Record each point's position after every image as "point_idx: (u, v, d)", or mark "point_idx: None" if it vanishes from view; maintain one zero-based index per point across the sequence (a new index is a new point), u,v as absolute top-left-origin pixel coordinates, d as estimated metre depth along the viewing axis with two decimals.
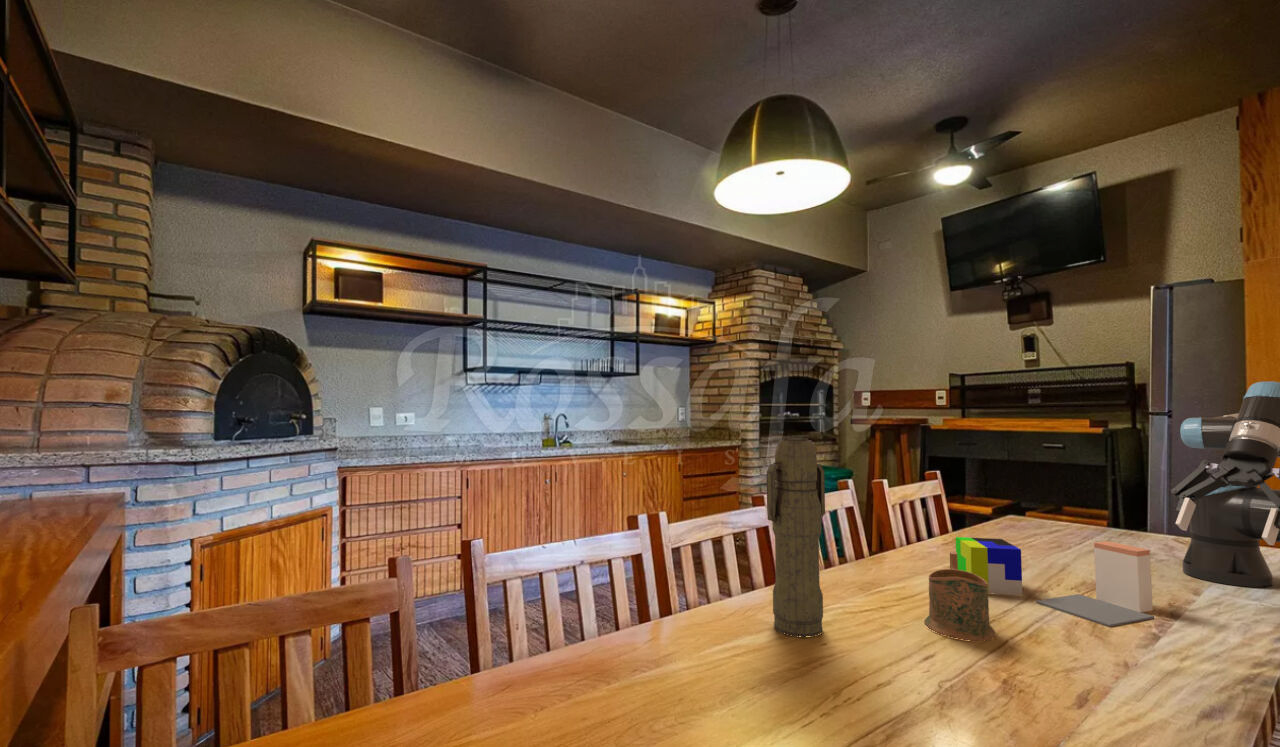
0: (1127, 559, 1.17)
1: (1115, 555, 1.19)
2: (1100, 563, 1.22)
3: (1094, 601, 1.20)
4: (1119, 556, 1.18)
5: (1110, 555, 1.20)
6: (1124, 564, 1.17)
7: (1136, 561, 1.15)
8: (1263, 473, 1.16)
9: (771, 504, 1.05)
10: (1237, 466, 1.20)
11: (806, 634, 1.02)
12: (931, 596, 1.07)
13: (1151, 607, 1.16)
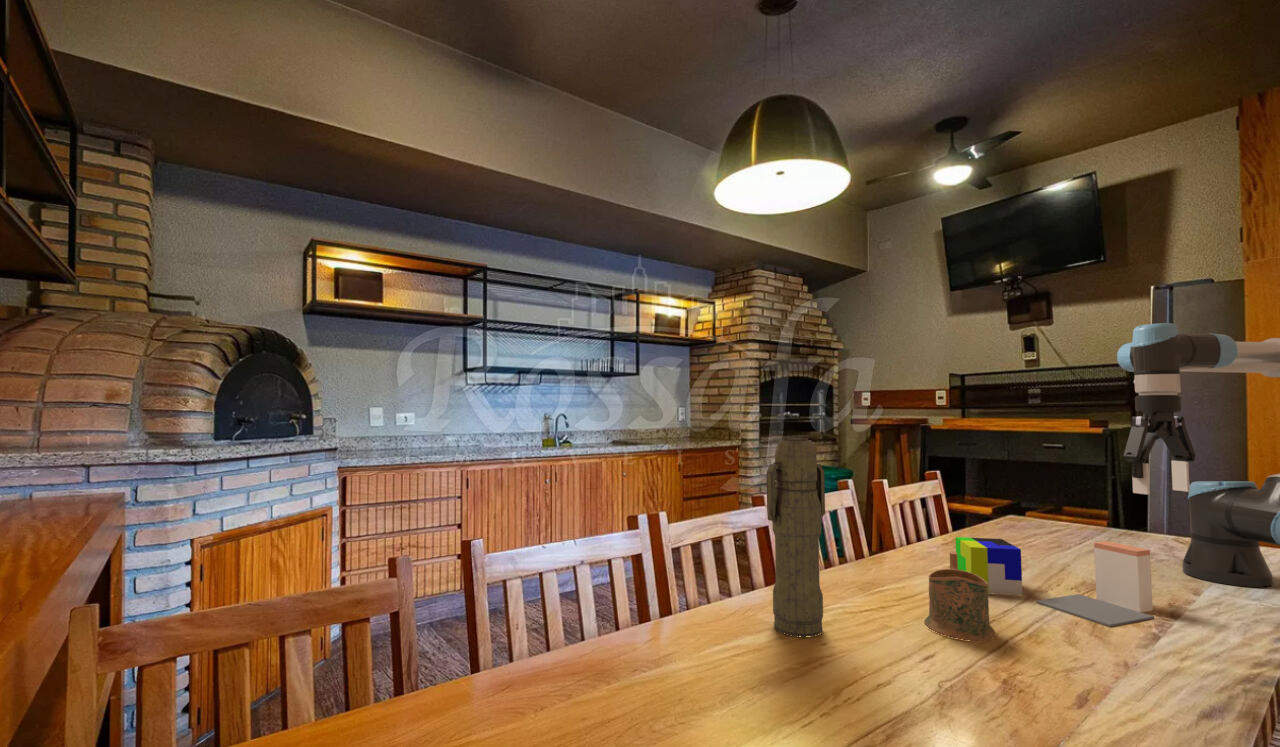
0: (1127, 559, 1.17)
1: (1115, 555, 1.19)
2: (1100, 563, 1.22)
3: (1094, 601, 1.20)
4: (1119, 556, 1.18)
5: (1110, 555, 1.20)
6: (1124, 564, 1.17)
7: (1136, 561, 1.15)
8: None
9: (771, 504, 1.05)
10: None
11: (806, 634, 1.02)
12: (931, 596, 1.07)
13: (1151, 607, 1.16)
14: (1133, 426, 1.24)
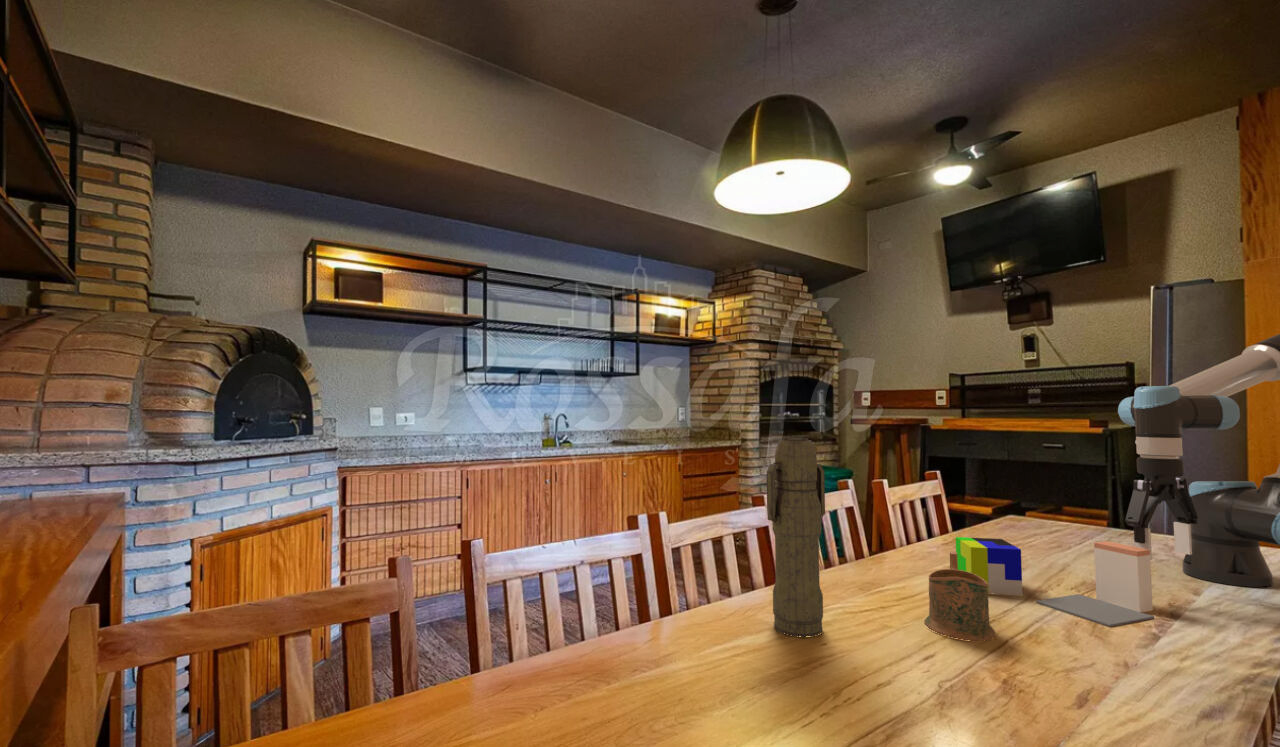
0: (1127, 559, 1.17)
1: (1115, 555, 1.19)
2: (1100, 563, 1.22)
3: (1094, 601, 1.20)
4: (1119, 556, 1.18)
5: (1110, 555, 1.20)
6: (1124, 564, 1.17)
7: (1136, 561, 1.15)
8: None
9: (771, 504, 1.05)
10: None
11: (806, 634, 1.02)
12: (931, 596, 1.07)
13: (1151, 607, 1.16)
14: (1135, 490, 1.24)
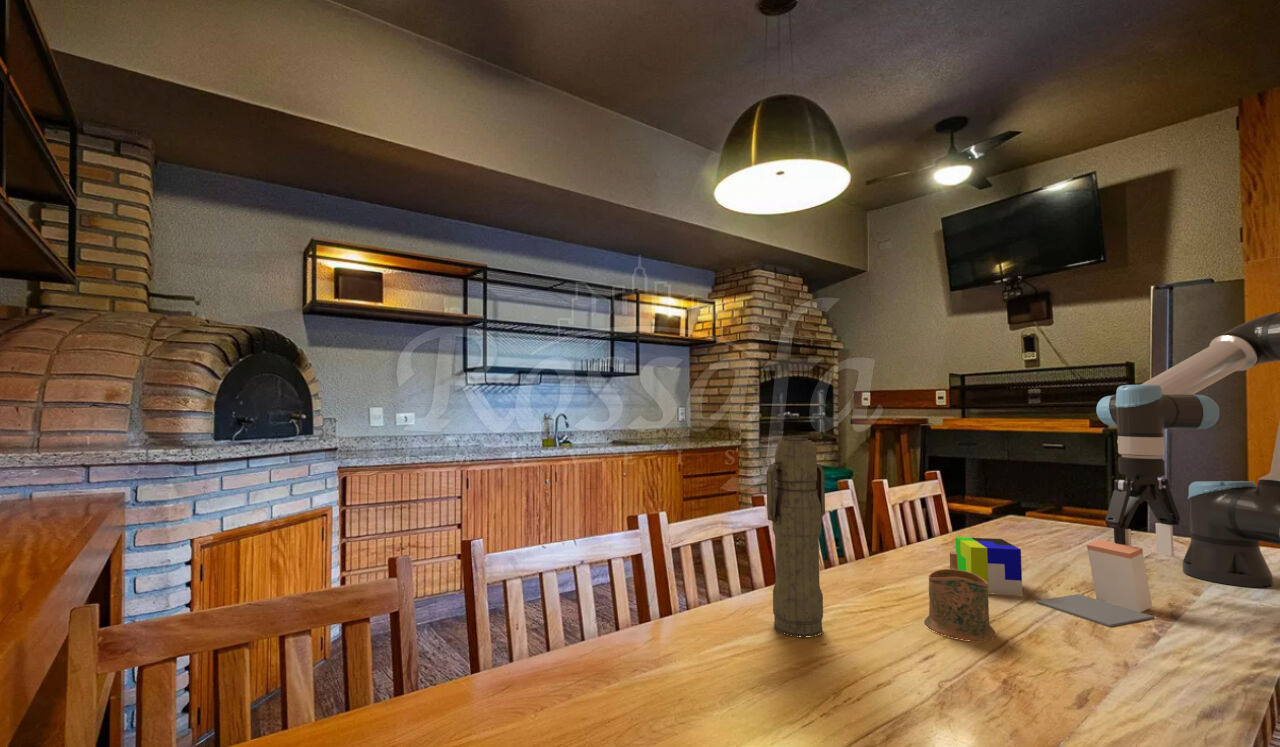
0: (1121, 560, 1.16)
1: (1109, 557, 1.18)
2: (1095, 564, 1.21)
3: (1094, 601, 1.20)
4: (1113, 558, 1.18)
5: (1104, 557, 1.19)
6: (1119, 566, 1.17)
7: (1130, 562, 1.15)
8: None
9: (771, 504, 1.05)
10: None
11: (806, 634, 1.02)
12: (931, 596, 1.07)
13: (1150, 604, 1.16)
14: (1115, 490, 1.22)
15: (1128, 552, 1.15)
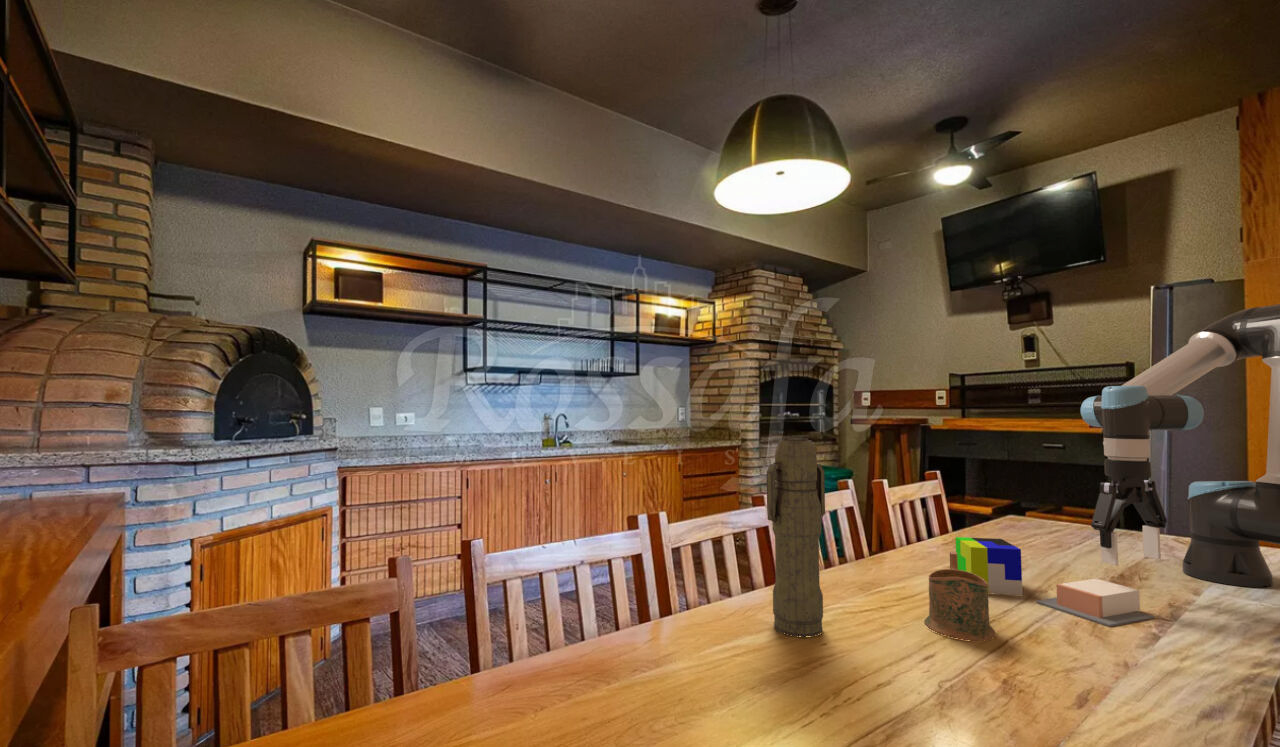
0: None
1: None
2: None
3: None
4: None
5: None
6: None
7: (1105, 616, 1.12)
8: None
9: (771, 504, 1.05)
10: None
11: (806, 634, 1.02)
12: (931, 596, 1.07)
13: (1137, 592, 1.15)
14: (1101, 493, 1.20)
15: (1096, 613, 1.11)
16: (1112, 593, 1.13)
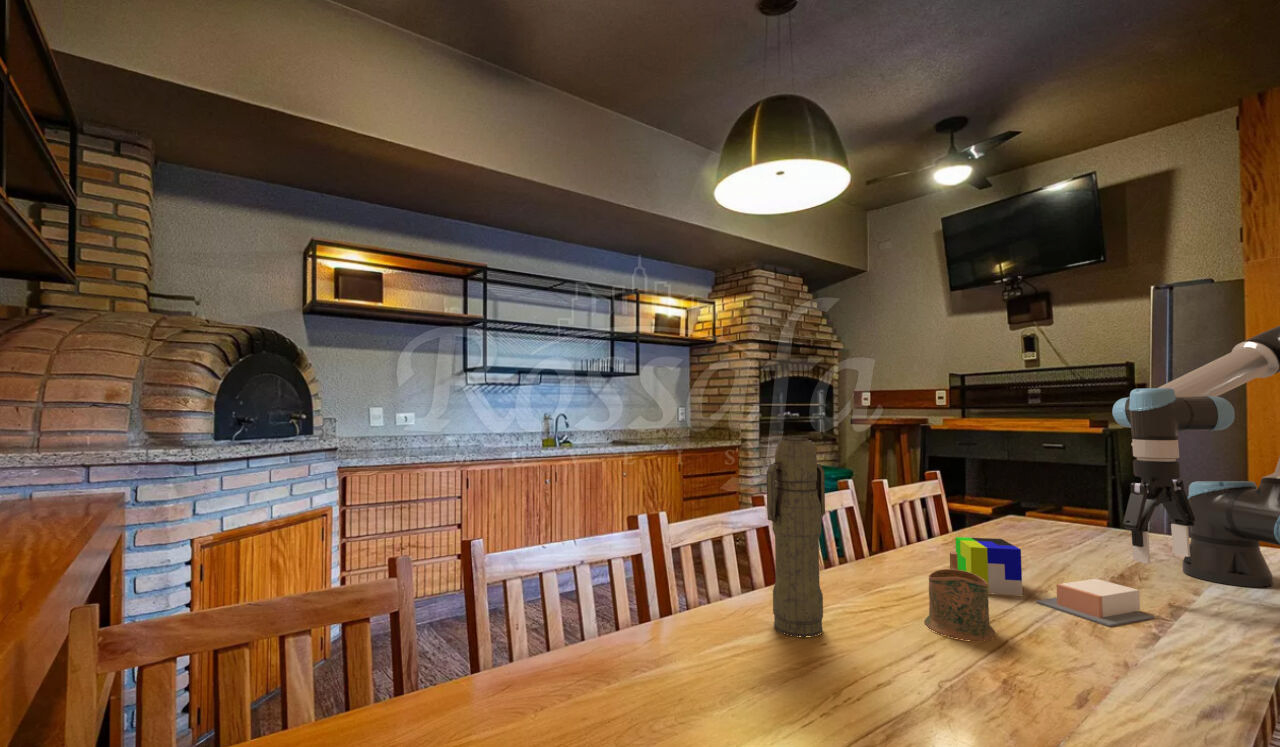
0: None
1: None
2: None
3: None
4: None
5: None
6: None
7: (1105, 616, 1.12)
8: None
9: (771, 504, 1.05)
10: None
11: (806, 634, 1.02)
12: (931, 596, 1.07)
13: (1137, 592, 1.15)
14: (1132, 493, 1.23)
15: (1096, 613, 1.11)
16: (1112, 593, 1.13)
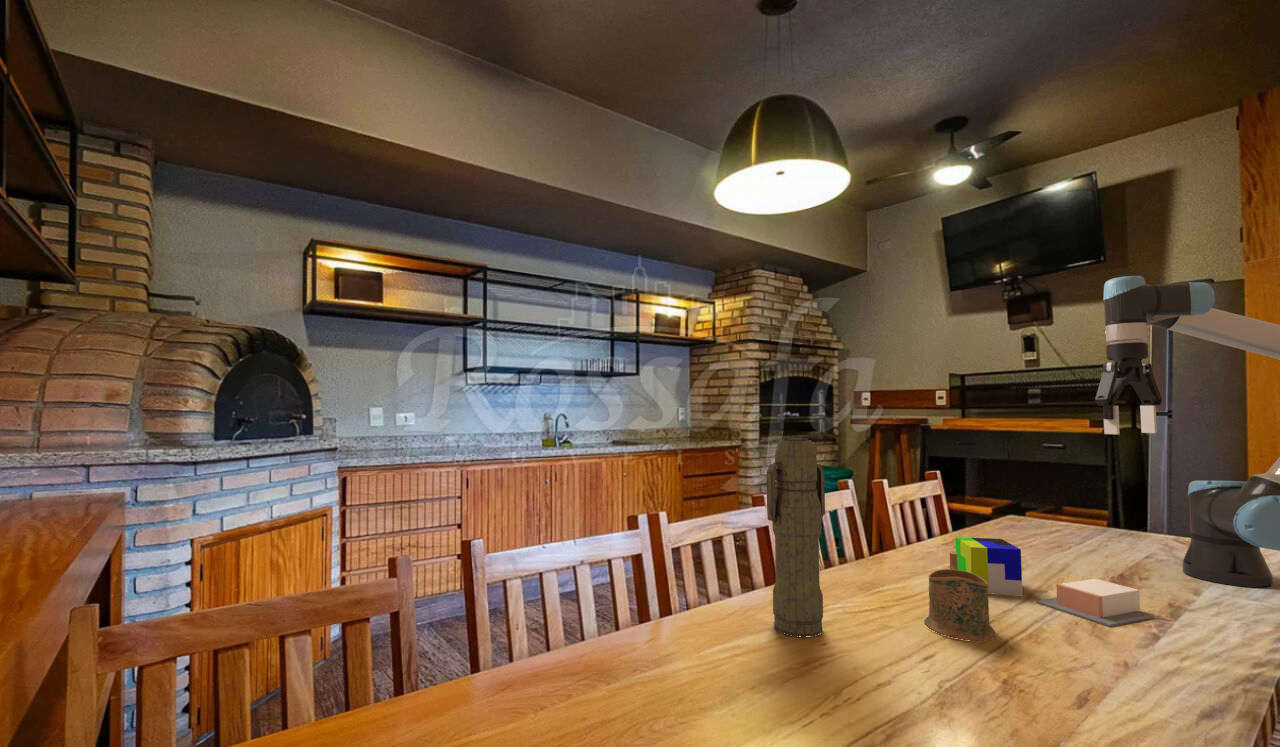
0: None
1: None
2: None
3: None
4: None
5: None
6: None
7: (1105, 616, 1.12)
8: None
9: (771, 504, 1.05)
10: None
11: (806, 634, 1.02)
12: (931, 596, 1.07)
13: (1137, 592, 1.15)
14: (1104, 372, 1.33)
15: (1096, 613, 1.11)
16: (1112, 593, 1.13)
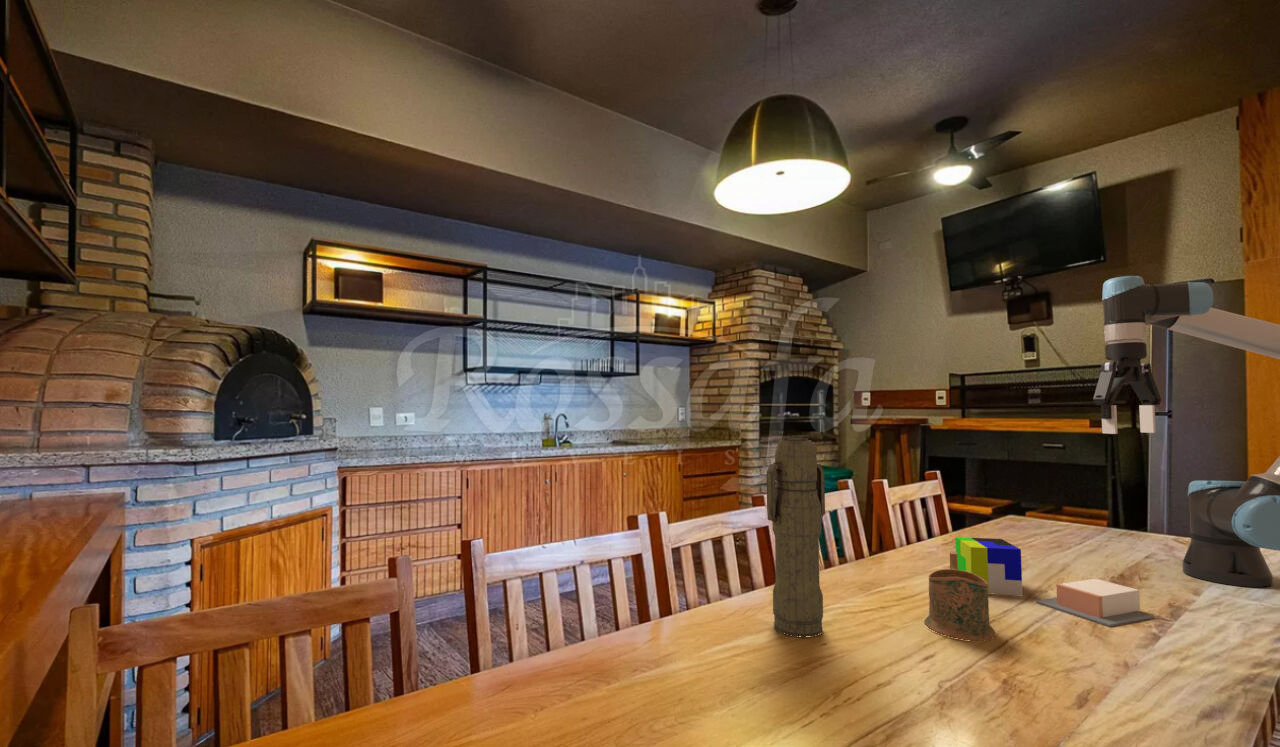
0: None
1: None
2: None
3: None
4: None
5: None
6: None
7: (1105, 616, 1.12)
8: None
9: (771, 504, 1.05)
10: None
11: (806, 634, 1.02)
12: (931, 596, 1.07)
13: (1137, 592, 1.15)
14: (1102, 371, 1.34)
15: (1096, 613, 1.11)
16: (1112, 593, 1.13)
